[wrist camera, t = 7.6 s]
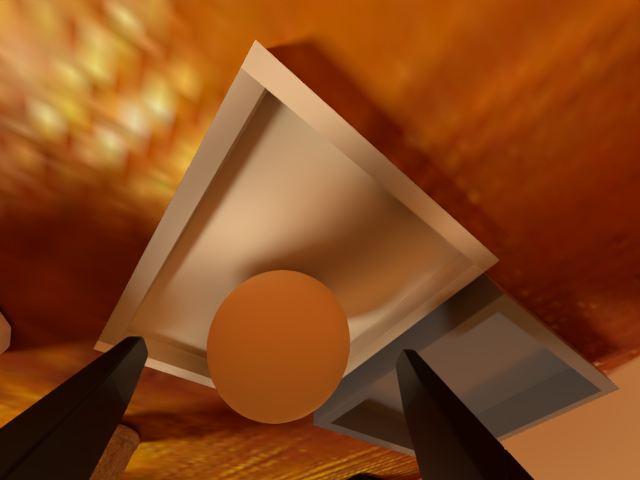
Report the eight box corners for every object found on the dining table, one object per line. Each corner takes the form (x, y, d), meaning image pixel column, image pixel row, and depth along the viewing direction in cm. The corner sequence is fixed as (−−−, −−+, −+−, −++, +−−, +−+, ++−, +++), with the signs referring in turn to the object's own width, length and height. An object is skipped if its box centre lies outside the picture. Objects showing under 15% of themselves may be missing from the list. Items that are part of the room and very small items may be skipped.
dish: (582, 353, 16) (619, 388, 14) (431, 432, 21) (444, 466, 19) (472, 261, 12) (504, 293, 10) (312, 386, 16) (313, 424, 14)
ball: (363, 281, 11) (400, 398, 7) (298, 342, 13) (296, 463, 9) (267, 222, 9) (238, 330, 5) (208, 302, 11) (150, 430, 7)
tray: (477, 240, 11) (499, 260, 10) (295, 388, 16) (294, 413, 15) (264, 48, 7) (255, 39, 6) (115, 322, 13) (93, 349, 11)
